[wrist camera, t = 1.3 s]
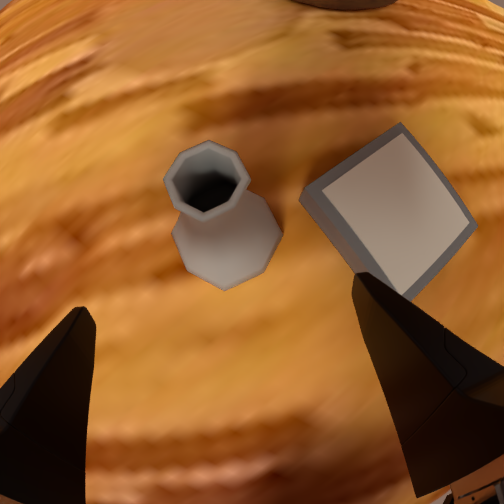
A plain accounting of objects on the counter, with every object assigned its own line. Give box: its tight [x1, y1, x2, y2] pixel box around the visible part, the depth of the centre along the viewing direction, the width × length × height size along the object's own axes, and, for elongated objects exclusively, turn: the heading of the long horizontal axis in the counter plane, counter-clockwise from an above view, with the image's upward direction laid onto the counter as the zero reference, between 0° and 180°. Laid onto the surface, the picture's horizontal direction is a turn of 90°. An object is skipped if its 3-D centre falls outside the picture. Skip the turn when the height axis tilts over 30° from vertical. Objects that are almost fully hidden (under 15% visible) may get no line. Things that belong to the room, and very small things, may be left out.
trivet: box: [299, 122, 478, 301], centre depth 20 cm, size 10×10×3 cm
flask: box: [163, 140, 283, 291], centre depth 16 cm, size 7×7×10 cm
